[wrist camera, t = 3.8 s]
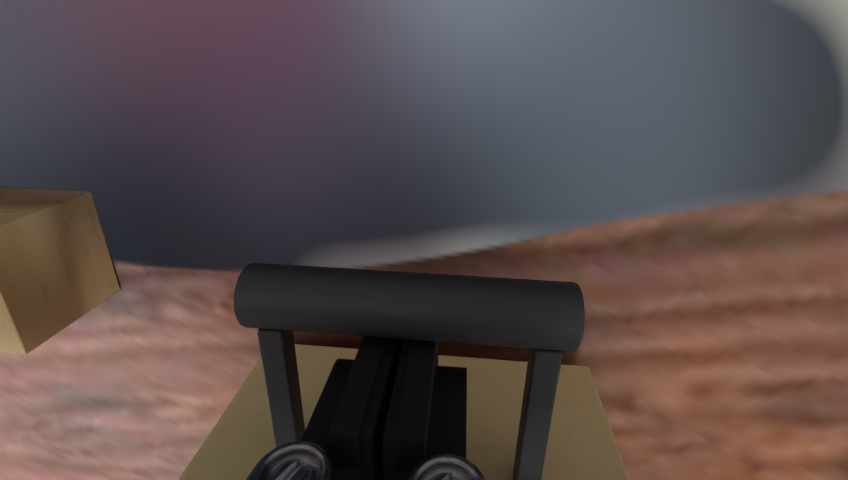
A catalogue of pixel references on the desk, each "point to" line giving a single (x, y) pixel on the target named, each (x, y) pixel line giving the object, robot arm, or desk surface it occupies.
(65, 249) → the block
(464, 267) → the desk surface
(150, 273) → the desk surface
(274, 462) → the robot arm
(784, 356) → the desk surface
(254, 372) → the drawer
